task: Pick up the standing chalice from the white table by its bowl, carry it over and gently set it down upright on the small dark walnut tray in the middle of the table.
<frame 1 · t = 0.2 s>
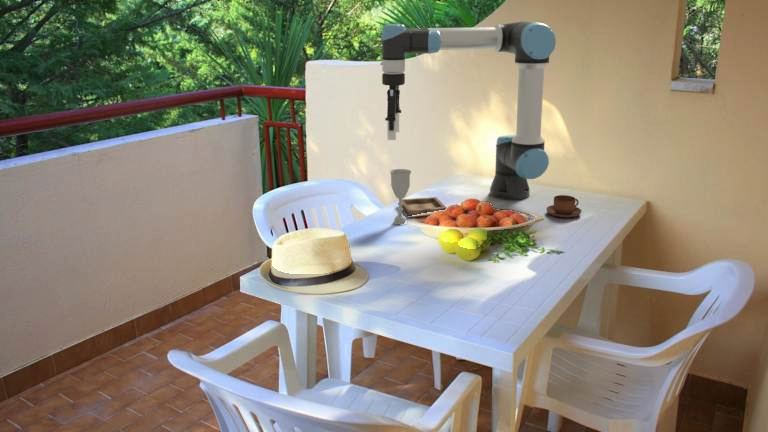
hand: (393, 135, 235), 28 cm above the table, tool pointing down, fingers open, 13 cm apart
tray: (422, 210, 249), on the table
cup and saucer: (563, 215, 243), on the table
chalice: (400, 223, 236), on the table
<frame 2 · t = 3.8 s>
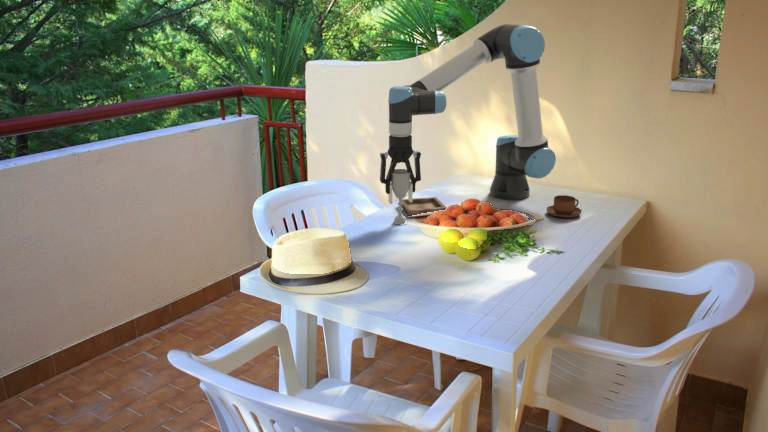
hand: (400, 201, 233), 7 cm above the table, tool pointing down, fingers closed on chalice, 6 cm apart
chalice: (400, 223, 236), on the table, touching gripper
everything else where it was.
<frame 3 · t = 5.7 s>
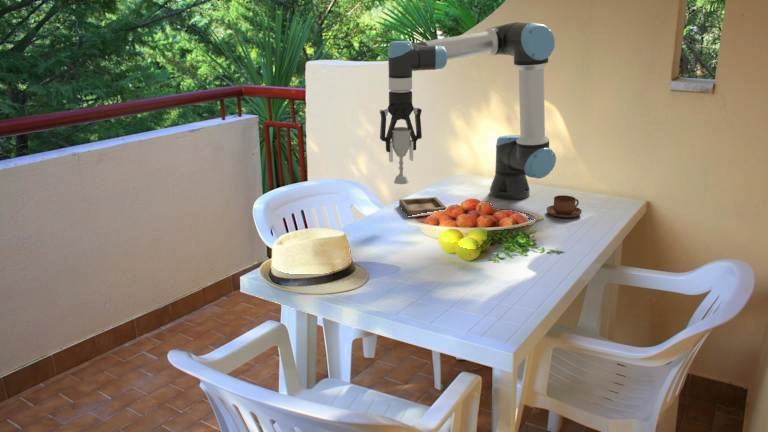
hand: (401, 160, 229), 22 cm above the table, tool pointing down, fingers closed on chalice, 6 cm apart
chalice: (401, 182, 231), point 14 cm above the table, touching gripper
everything else where it was.
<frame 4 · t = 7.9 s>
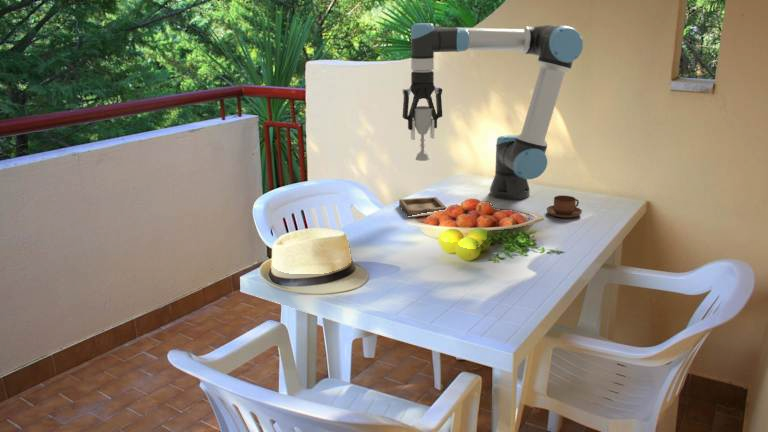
hand: (422, 138, 240), 27 cm above the table, tool pointing down, fingers closed on chalice, 6 cm apart
chalice: (422, 159, 242), point 19 cm above the table, touching gripper
everything else where it was.
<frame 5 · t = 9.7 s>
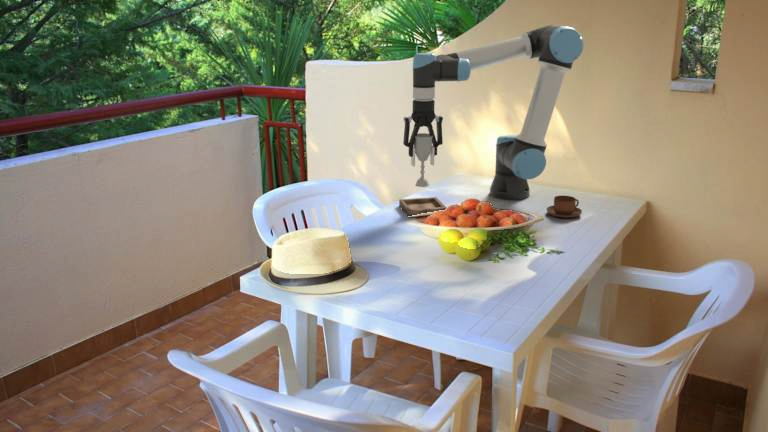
hand: (422, 164, 244), 17 cm above the table, tool pointing down, fingers closed on chalice, 6 cm apart
chalice: (422, 185, 246), point 9 cm above the table, touching gripper
everything else where it was.
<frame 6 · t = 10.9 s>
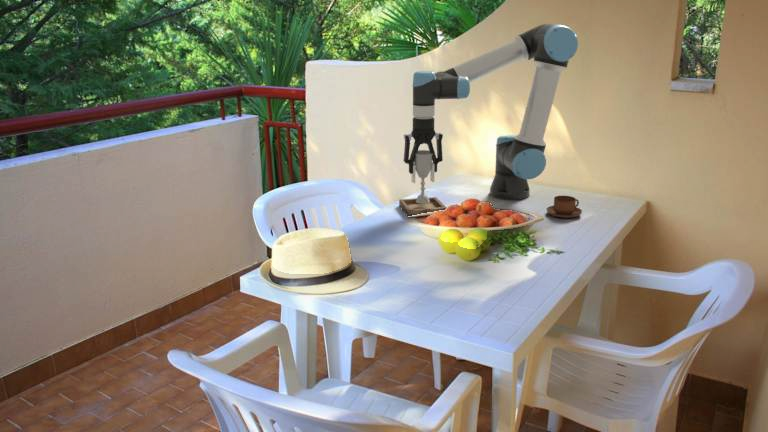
hand: (422, 181, 246), 11 cm above the table, tool pointing down, fingers closed on chalice, 6 cm apart
chalice: (422, 202, 248), point 3 cm above the table, touching gripper
everything else where it was.
when the fingers open (9 cm above the table, at t = 12.6 s): chalice stays where it is, resting on tray.
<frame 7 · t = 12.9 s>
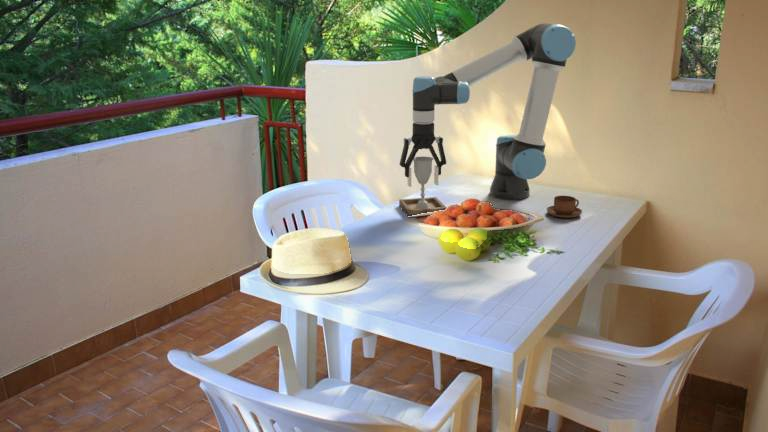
hand: (422, 184, 246), 10 cm above the table, tool pointing down, fingers open, 9 cm apart
chalice: (422, 208, 249), point 1 cm above the table, touching tray
everything else where it was.
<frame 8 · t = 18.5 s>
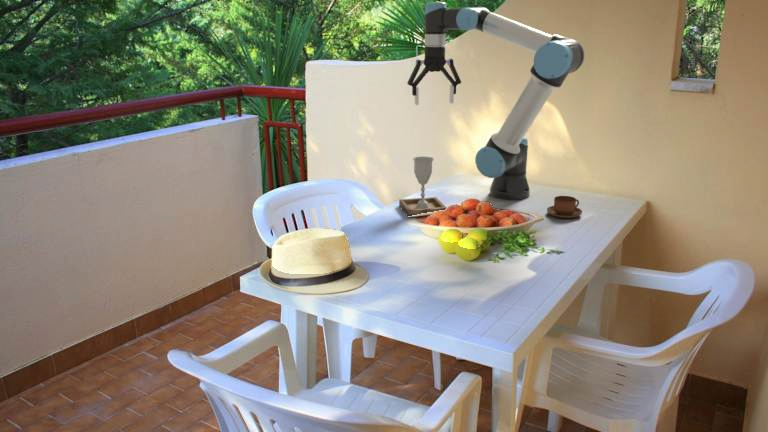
hand: (434, 103, 261), 35 cm above the table, tool pointing down, fingers open, 13 cm apart
nothing on the table moved.
at the end: chalice inside the target area on the tray (0.1 cm from its centre), point 0.8 cm above the tray's base; chalice tilted 0°; the gripper is holding nothing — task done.
